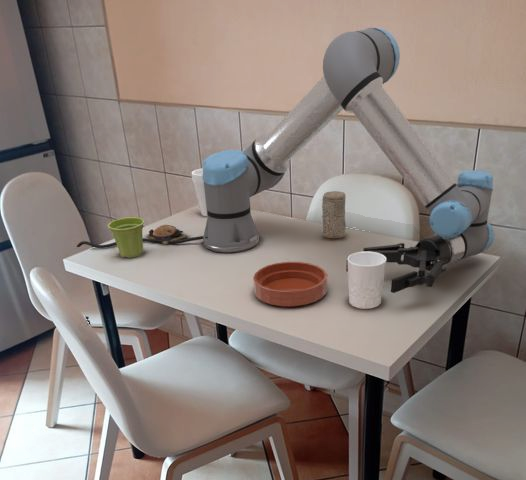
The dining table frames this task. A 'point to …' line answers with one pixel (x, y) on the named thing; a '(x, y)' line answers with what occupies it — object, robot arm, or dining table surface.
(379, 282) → the white cup
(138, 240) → the plant pot
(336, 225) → the carving
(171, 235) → the brown domed piece
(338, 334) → the dining table surface
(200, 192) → the foam cup
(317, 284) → the bowl
